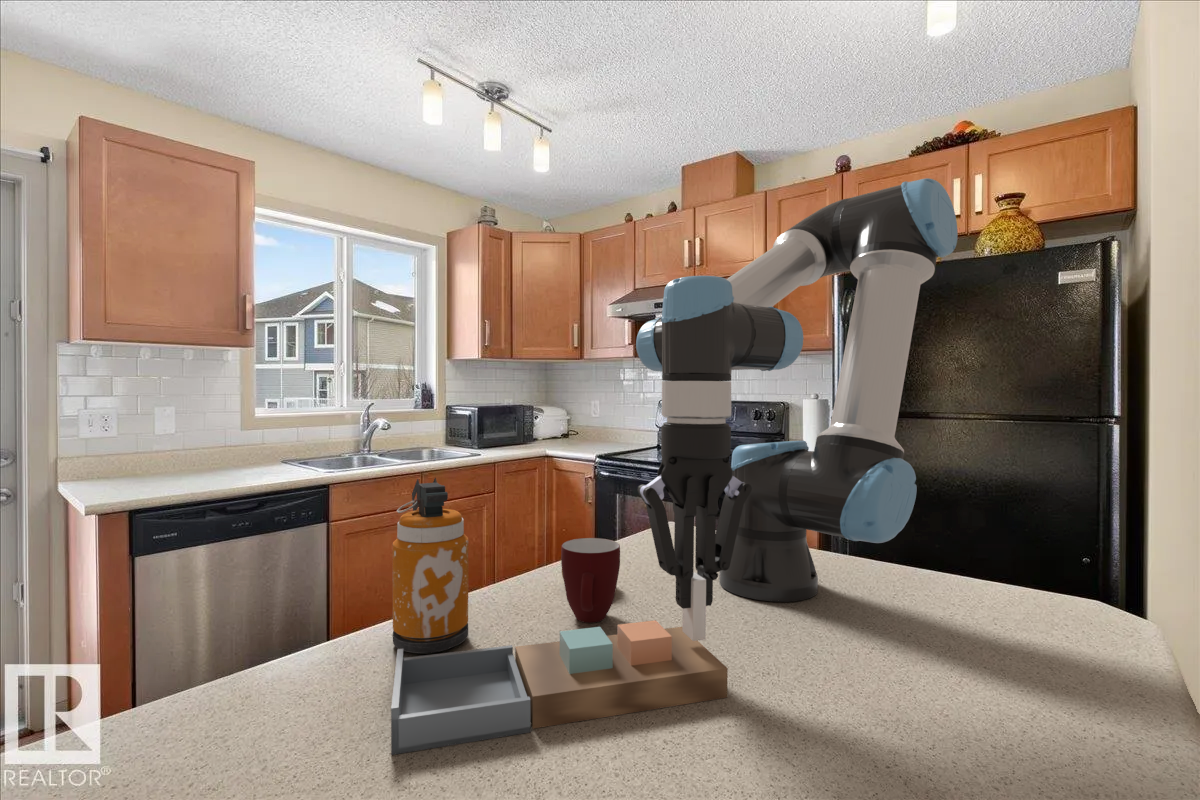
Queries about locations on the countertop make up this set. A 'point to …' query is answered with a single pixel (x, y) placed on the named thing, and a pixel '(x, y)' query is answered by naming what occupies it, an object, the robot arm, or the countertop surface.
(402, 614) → the canister
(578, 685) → the tan wooden flat box
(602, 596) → the mug
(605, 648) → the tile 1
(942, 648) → the countertop surface
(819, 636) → the countertop surface
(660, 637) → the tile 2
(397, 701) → the box
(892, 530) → the robot arm
